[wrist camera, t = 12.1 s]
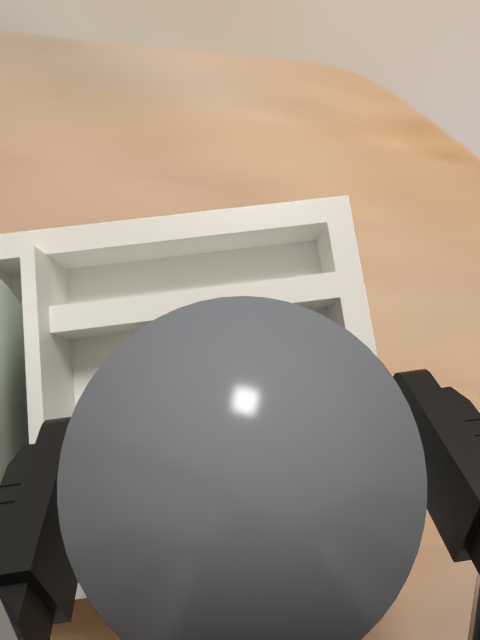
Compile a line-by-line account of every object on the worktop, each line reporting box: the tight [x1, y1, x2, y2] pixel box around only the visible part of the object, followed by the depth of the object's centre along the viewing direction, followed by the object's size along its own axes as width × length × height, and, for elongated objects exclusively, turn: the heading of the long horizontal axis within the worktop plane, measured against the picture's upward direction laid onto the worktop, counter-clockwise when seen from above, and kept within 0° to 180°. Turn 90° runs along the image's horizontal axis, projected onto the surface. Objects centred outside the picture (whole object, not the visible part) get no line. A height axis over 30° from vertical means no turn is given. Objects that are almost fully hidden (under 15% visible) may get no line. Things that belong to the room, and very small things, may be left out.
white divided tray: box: [0, 195, 378, 600], centre depth 13 cm, size 15×13×10 cm
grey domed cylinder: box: [57, 296, 427, 640], centre depth 12 cm, size 5×5×11 cm
